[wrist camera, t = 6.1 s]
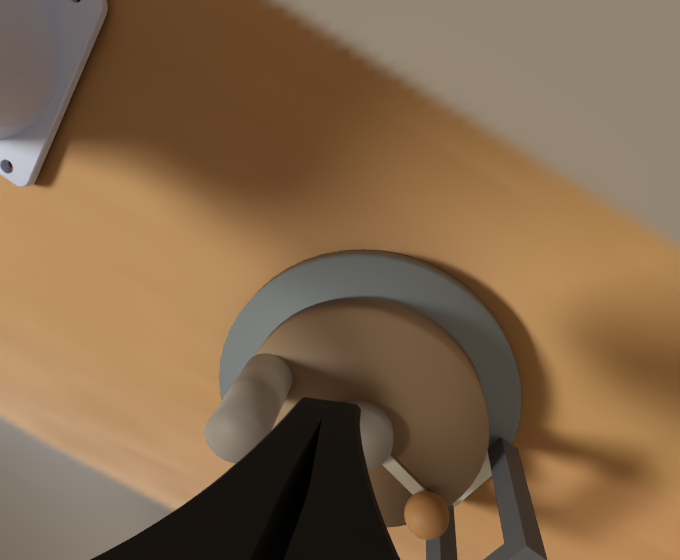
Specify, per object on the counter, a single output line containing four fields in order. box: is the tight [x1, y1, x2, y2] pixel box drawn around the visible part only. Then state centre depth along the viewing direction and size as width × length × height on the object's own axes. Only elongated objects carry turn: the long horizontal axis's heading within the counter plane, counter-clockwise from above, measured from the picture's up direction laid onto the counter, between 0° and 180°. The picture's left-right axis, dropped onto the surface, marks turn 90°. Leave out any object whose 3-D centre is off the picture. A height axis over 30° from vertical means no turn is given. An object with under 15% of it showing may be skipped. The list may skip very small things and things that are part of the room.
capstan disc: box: [205, 297, 489, 540], centre depth 17 cm, size 9×9×5 cm
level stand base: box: [219, 250, 547, 560], centre depth 18 cm, size 12×12×6 cm
